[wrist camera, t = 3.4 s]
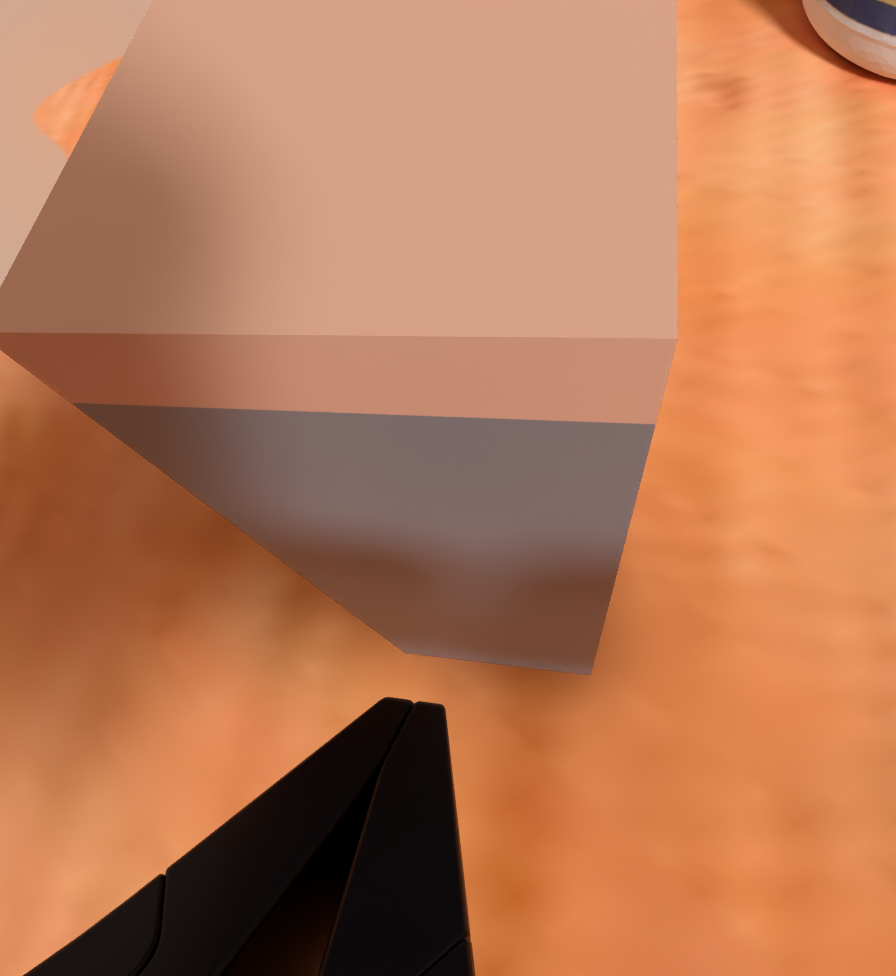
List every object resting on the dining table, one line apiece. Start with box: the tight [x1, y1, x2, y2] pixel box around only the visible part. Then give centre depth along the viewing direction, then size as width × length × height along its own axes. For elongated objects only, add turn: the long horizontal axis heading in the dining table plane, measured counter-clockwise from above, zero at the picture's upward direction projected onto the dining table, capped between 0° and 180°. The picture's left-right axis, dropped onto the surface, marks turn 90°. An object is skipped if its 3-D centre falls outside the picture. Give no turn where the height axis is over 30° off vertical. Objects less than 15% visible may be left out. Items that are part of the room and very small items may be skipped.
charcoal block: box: [0, 0, 678, 675], centre depth 11 cm, size 5×5×14 cm
